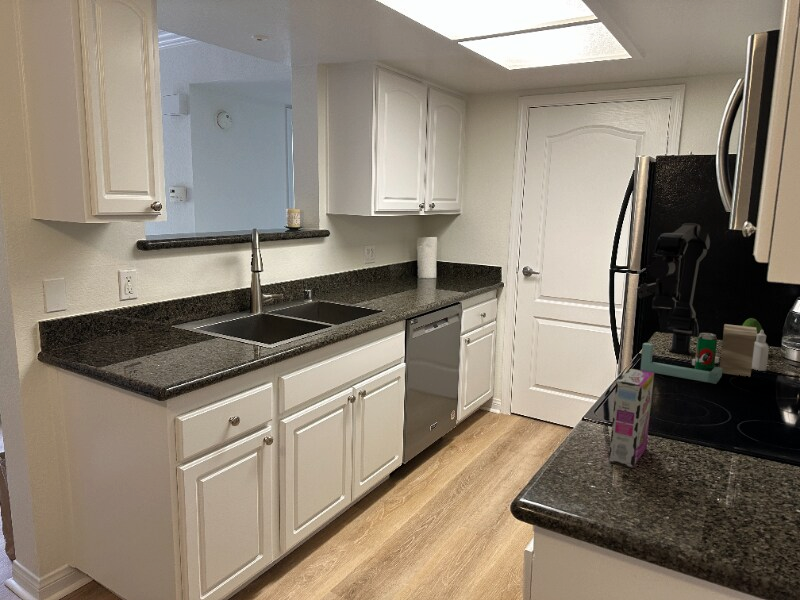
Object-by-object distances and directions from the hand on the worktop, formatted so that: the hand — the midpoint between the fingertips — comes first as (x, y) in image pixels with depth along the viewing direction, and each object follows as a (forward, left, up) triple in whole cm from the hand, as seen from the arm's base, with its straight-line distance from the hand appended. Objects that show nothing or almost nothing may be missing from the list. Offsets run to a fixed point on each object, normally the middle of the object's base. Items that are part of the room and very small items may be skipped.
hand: (664, 326), depth 179 cm
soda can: (+5, +12, -12) cm, 18 cm away
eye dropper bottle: (-10, +26, -12) cm, 30 cm away
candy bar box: (+75, +2, -12) cm, 76 cm away
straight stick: (-8, +12, -12) cm, 19 cm away
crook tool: (+8, +6, -12) cm, 15 cm away
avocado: (-30, +24, -12) cm, 40 cm away
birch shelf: (+4, +20, -12) cm, 24 cm away
